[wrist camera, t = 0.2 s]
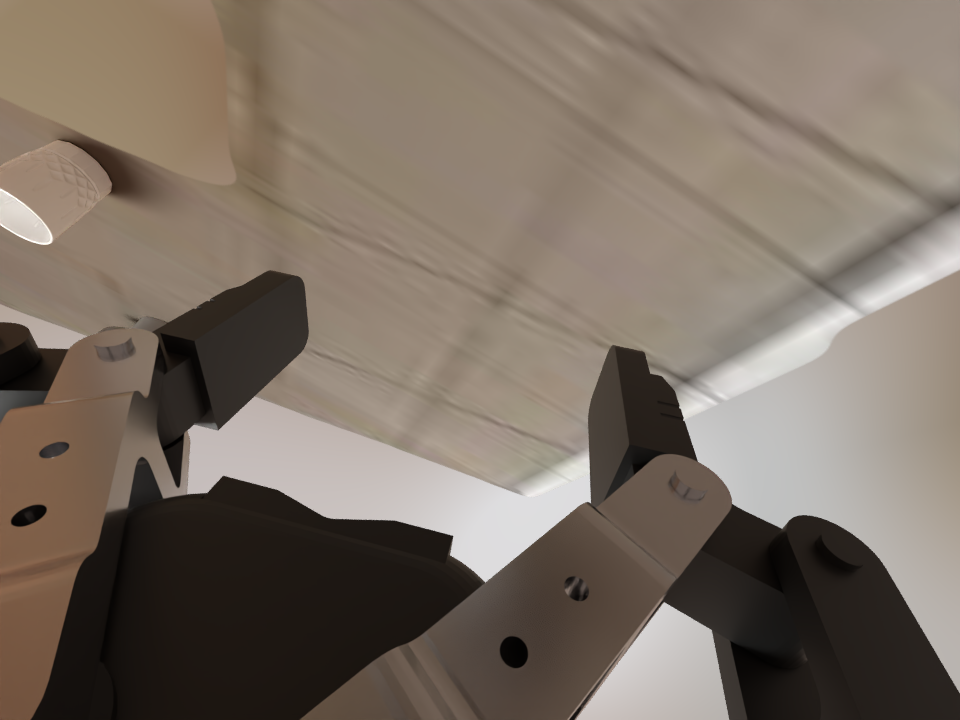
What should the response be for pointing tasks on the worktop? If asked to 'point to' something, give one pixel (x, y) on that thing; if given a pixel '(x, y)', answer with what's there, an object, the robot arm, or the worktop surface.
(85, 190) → the white cup
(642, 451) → the robot arm
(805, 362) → the worktop surface
